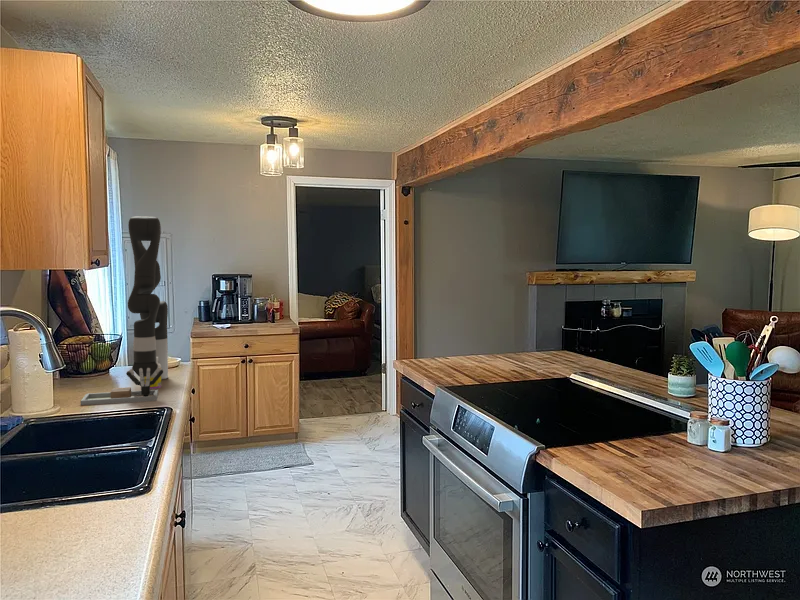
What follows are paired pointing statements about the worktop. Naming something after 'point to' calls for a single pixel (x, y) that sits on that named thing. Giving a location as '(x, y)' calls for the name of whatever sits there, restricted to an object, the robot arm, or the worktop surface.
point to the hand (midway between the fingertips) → (145, 395)
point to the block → (121, 392)
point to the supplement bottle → (158, 382)
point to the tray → (106, 398)
